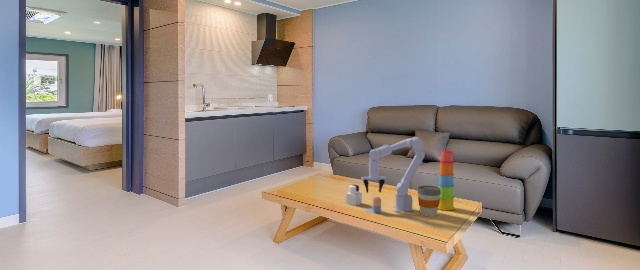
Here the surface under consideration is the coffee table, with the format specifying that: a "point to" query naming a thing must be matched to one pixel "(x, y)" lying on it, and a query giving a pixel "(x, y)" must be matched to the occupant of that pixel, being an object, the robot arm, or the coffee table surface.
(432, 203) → the reusable coffee cup
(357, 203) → the medicine bottle
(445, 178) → the stacking cups
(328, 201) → the coffee table surface
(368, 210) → the plate
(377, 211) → the blue brick
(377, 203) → the salmon orange cube
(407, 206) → the robot arm
